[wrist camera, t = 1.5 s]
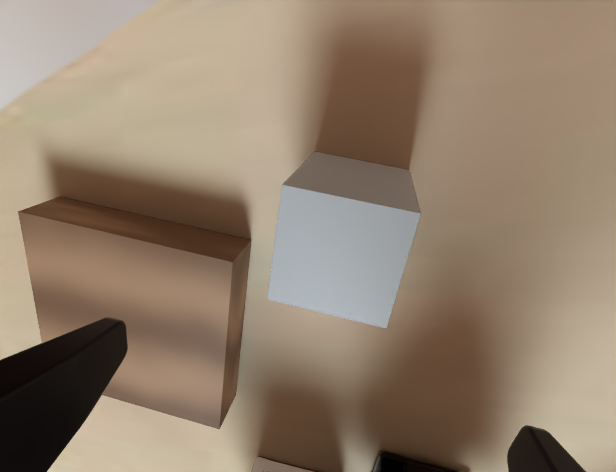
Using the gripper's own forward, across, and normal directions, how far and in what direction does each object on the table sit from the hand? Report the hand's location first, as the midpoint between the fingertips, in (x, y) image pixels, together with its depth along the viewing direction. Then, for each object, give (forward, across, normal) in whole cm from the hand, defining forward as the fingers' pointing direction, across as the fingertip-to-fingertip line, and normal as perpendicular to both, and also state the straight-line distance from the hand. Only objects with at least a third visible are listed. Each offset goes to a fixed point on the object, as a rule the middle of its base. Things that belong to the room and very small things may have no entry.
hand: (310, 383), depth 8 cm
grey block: (+13, 0, 0) cm, 13 cm away
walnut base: (+13, +12, +11) cm, 21 cm away
